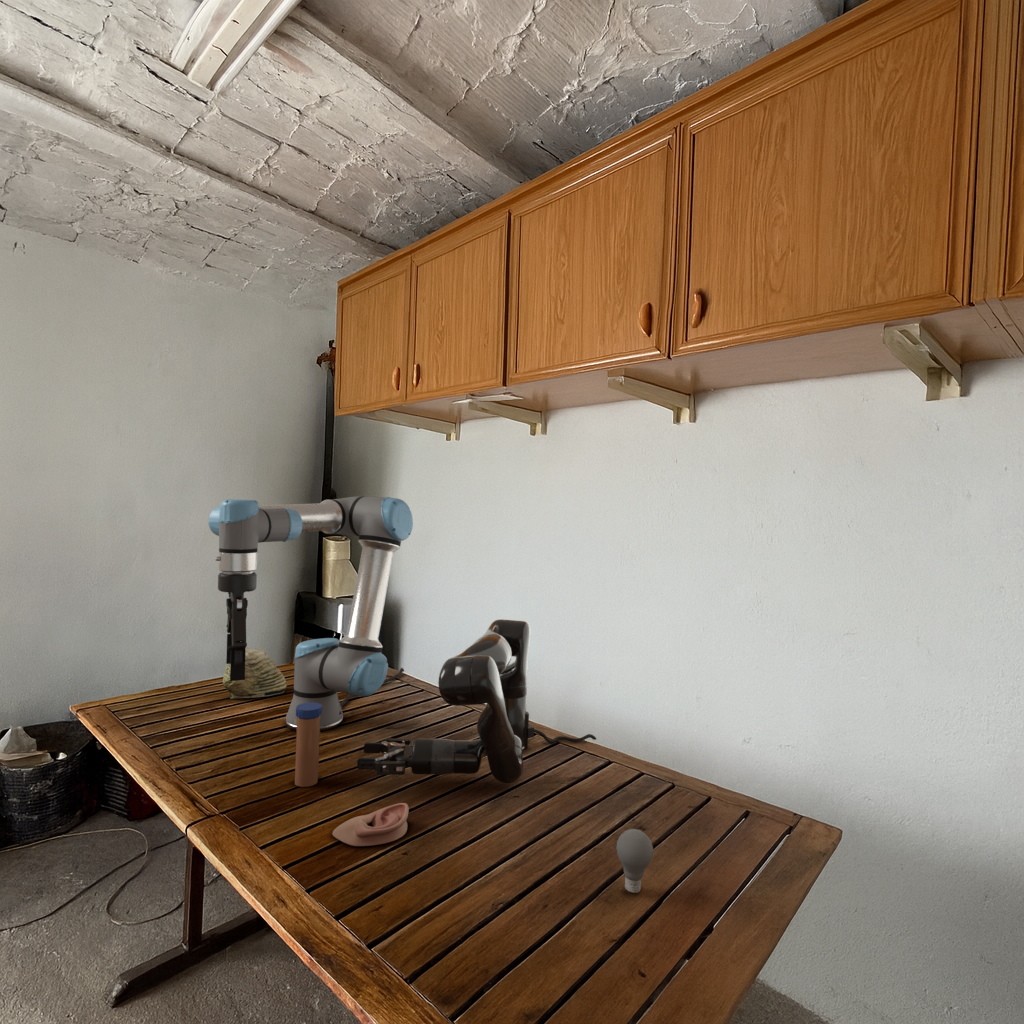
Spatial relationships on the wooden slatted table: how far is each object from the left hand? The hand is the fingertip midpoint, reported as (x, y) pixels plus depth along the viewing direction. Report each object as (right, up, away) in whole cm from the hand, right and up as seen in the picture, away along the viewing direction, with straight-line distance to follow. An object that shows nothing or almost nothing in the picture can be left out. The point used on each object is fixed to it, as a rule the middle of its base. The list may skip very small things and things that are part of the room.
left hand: (235, 671), depth 135 cm
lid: (+14, -9, +5) cm, 18 cm away
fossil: (-22, -23, +63) cm, 71 cm away
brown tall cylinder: (+13, -26, +5) cm, 30 cm away
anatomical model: (+32, -27, -14) cm, 44 cm away
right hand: (+25, -20, +6) cm, 33 cm away
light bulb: (+79, -29, -29) cm, 89 cm away
